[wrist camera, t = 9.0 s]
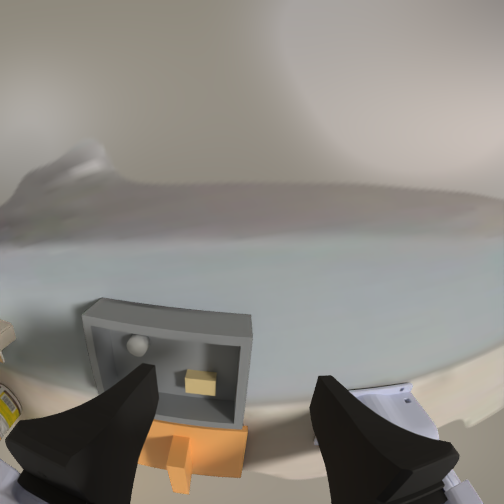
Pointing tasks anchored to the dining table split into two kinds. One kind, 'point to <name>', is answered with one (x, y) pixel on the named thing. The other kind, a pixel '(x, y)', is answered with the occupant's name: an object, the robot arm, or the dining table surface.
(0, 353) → the architectural model
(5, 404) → the supplement bottle
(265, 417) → the dining table surface
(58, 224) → the dining table surface
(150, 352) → the tub
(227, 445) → the lid
